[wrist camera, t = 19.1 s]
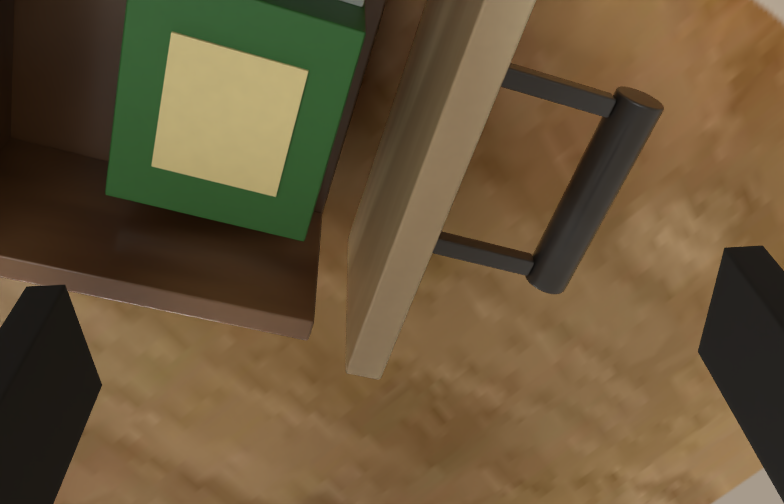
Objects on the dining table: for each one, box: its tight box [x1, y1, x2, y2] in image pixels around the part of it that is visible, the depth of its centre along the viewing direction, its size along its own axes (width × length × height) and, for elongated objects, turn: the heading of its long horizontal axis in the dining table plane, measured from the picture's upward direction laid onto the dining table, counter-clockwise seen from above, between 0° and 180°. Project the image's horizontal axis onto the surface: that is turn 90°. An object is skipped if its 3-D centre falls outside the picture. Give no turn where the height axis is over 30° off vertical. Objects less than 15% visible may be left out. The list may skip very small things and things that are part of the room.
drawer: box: [0, 0, 664, 379], centre depth 22 cm, size 20×14×8 cm
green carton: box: [105, 0, 366, 241], centre depth 22 cm, size 9×6×5 cm
